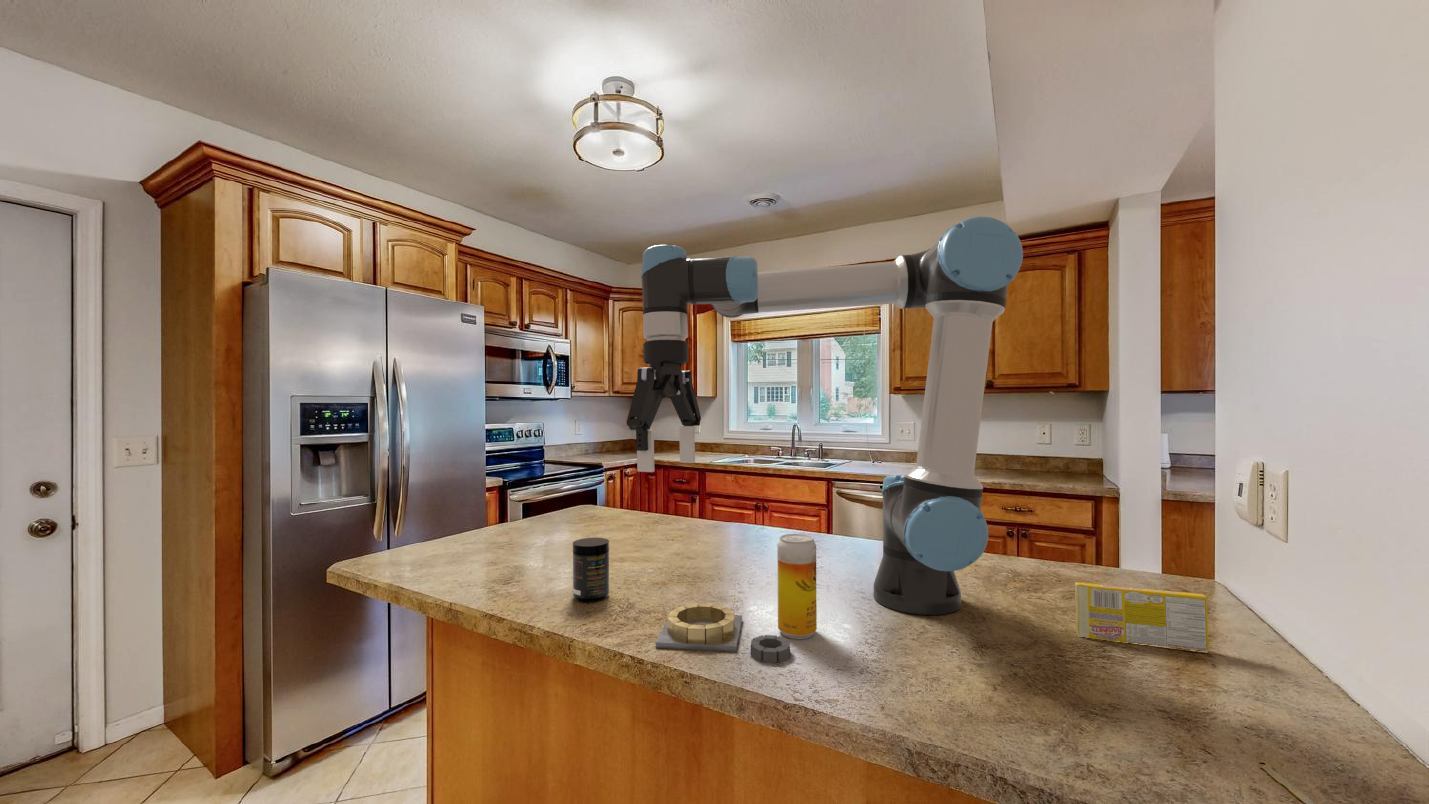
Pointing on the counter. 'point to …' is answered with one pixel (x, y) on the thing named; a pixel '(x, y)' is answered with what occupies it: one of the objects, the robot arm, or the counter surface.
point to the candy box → (1142, 616)
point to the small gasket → (770, 648)
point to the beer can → (797, 586)
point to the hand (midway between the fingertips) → (668, 467)
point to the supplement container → (590, 569)
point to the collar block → (701, 628)
